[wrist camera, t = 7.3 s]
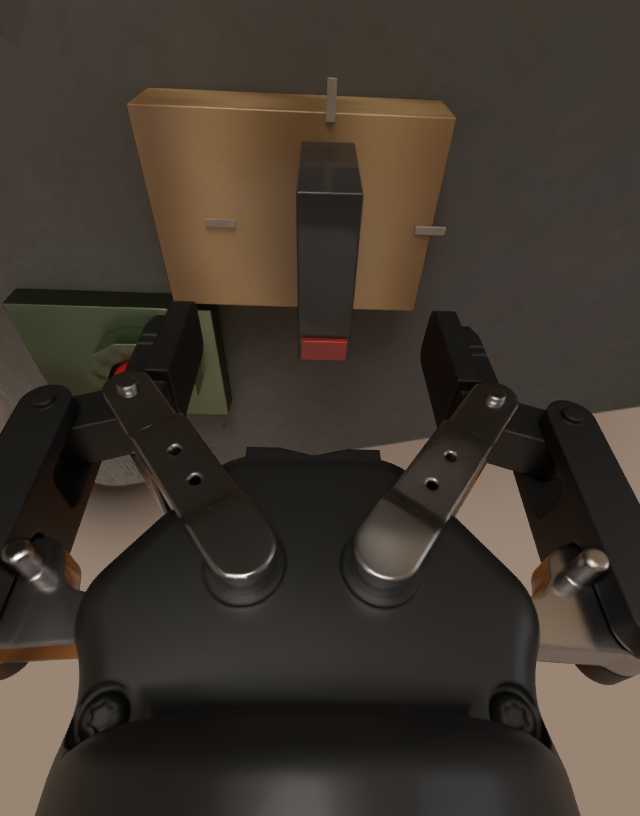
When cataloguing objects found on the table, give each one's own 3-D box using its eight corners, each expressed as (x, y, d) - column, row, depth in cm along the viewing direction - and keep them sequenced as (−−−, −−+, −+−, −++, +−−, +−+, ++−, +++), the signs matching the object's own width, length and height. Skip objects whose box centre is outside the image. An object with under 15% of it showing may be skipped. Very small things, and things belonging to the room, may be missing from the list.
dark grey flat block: (301, 140, 18) (295, 194, 14) (355, 142, 18) (364, 196, 14) (302, 292, 23) (298, 363, 19) (344, 293, 23) (348, 364, 19)
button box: (72, 394, 33) (52, 429, 30) (15, 288, 26) (-16, 322, 24) (232, 399, 33) (224, 434, 30) (215, 294, 26) (204, 329, 24)
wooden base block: (189, 291, 26) (177, 322, 24) (140, 55, 18) (115, 68, 16) (412, 299, 27) (420, 330, 24) (462, 69, 18) (481, 85, 16)
